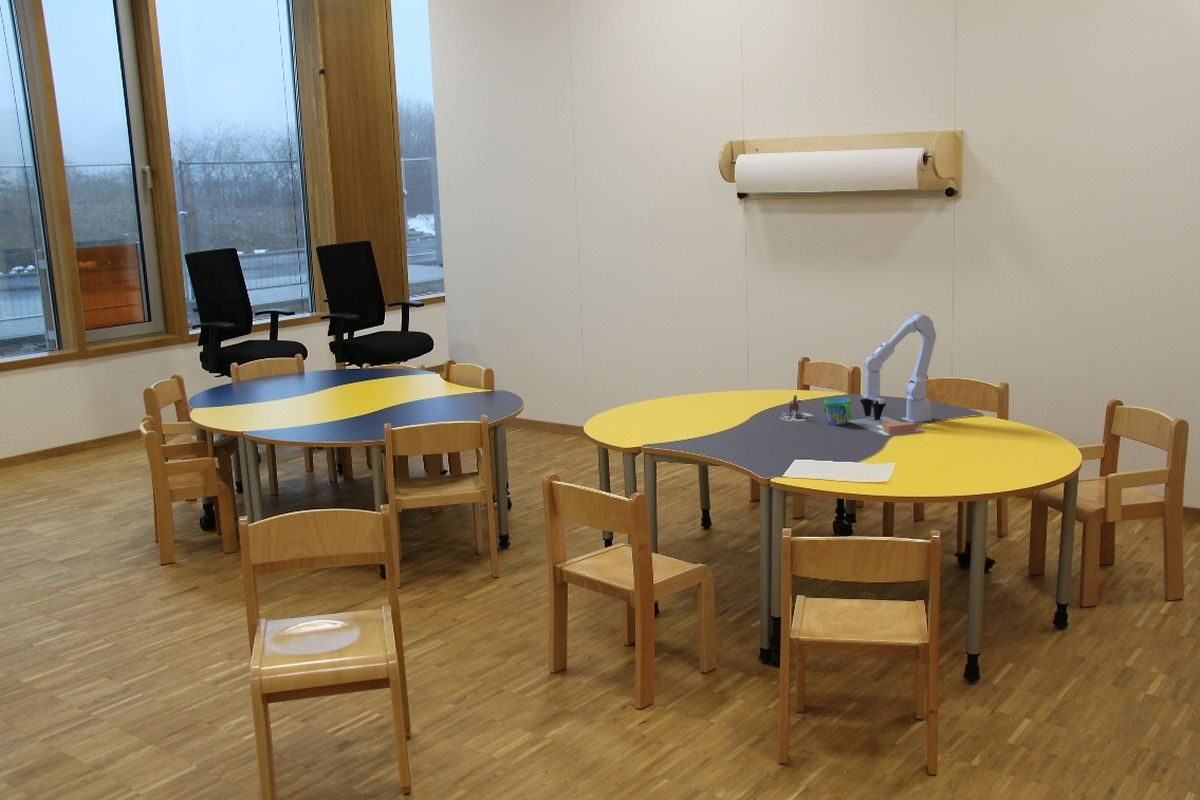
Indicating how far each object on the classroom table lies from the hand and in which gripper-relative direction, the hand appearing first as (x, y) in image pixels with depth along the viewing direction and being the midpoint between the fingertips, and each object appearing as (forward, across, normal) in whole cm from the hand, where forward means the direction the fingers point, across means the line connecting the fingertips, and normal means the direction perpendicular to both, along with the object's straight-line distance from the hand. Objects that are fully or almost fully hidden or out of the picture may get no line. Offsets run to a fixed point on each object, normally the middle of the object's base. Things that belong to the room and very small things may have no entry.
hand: (872, 417), depth 467 cm
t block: (+1, +18, 0) cm, 18 cm away
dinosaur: (+2, -22, -25) cm, 33 cm away
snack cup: (+2, -2, -15) cm, 15 cm away
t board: (+2, +10, 0) cm, 10 cm away
